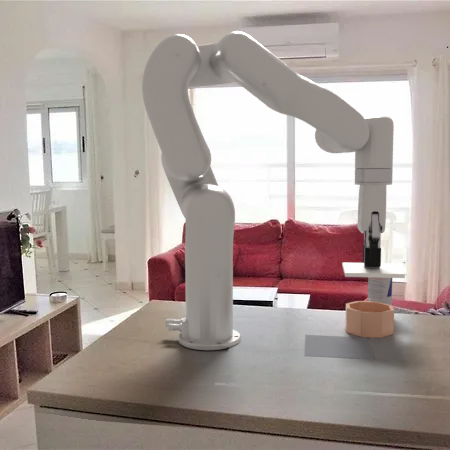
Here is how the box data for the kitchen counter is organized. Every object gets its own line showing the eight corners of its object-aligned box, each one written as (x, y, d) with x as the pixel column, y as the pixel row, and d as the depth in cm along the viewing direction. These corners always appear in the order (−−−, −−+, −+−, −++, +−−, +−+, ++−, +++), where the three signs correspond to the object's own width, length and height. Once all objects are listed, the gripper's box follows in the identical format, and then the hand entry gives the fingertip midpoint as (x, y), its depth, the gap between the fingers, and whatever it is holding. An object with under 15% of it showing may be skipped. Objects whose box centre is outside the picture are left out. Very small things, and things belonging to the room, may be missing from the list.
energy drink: (393, 316, 130) (395, 265, 129) (387, 321, 126) (389, 269, 124) (371, 312, 133) (372, 263, 132) (364, 318, 128) (365, 267, 127)
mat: (304, 357, 103) (304, 355, 103) (305, 336, 115) (305, 334, 115) (374, 361, 101) (374, 359, 101) (367, 339, 113) (367, 337, 113)
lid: (345, 276, 112) (345, 248, 111) (342, 265, 123) (342, 240, 123) (404, 278, 110) (405, 249, 109) (396, 266, 121) (396, 240, 121)
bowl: (347, 337, 114) (347, 311, 113) (344, 324, 124) (345, 300, 123) (395, 340, 113) (396, 313, 112) (389, 326, 122) (389, 302, 121)
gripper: (352, 176, 123) (350, 257, 125) (357, 178, 107) (356, 272, 109) (387, 176, 122) (385, 258, 124) (398, 178, 106) (395, 273, 108)
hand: (371, 264), depth 116 cm, fingers closed on lid, 3 cm apart
